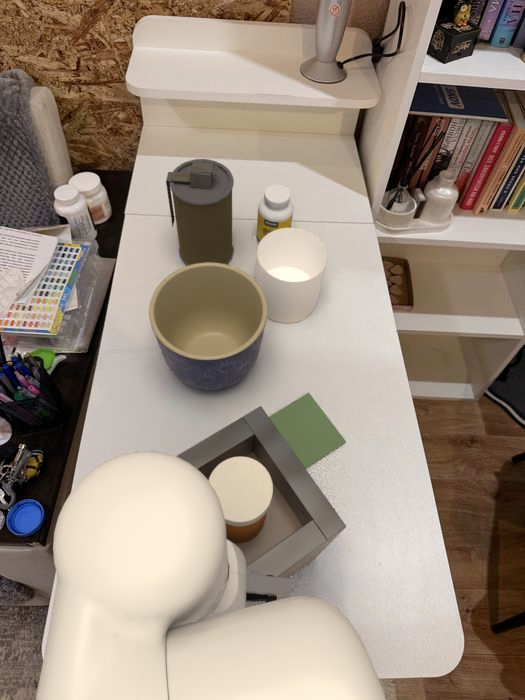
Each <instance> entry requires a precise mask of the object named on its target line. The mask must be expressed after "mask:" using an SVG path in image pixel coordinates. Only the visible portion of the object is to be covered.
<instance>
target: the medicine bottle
mask: <svg viewBox="0 0 525 700" xmlns="http://www.w3.org/2000/svg"><path fill="white" fill-rule="evenodd" d="M209 482H210V484H211V485H212V487H213V488H214V490H215V492H216V494H217V496H218V498H219V501H220V503H221V507H222V510H223V513H224V518H225V525H226V538H227V540H229V541H231V542H232V543H245V542H248V541H250V540H252V539H253V538H255V537H256V536H257V535H258V534H259V533H260V531H261V529H262V528H263V525H264V522H265V518H266V514H267V510H268V508H269V506H270V503H271V499H272V495H273V484H272V479H271V477H270V474H269V473H268V471H267V470H266V468H265V467H264V466H263V465H262V464H261V463H259V462H258V461H256V460H254V459H252V458H248V457H232V458H229V459H227V460H225V461H223V462H221V463H220V464H219V465H218V466H217V467H216V468H215V469H214V470H213V472H212V473H211V475H210V477H209Z"/></svg>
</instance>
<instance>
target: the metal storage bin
mask: <svg viewBox="0 0 525 700" xmlns="http://www.w3.org/2000/svg"><path fill="white" fill-rule="evenodd" d="M175 456H176V457H178V458H180V459H182V460H184V461H186V462H188V463H190V464H191V465H193V466H194V467H195V468H197V469H198V470H199V471H200V472H201V473H202V474H203V475H204V476H205V477H206V478H207V480H208V481H209V477H210V475H211V473H212V472H213V470H214V469H215V468H216V467H217V466H218V465H219V464H220V463H221V462H223V461H225V460H227V459H229V458H232V457H248V458H252V459H254V460H256V461H258V462H259V463H261V464H262V465H263V466H264V467H265V468H266V470H267V471H268V473H269V474H270V477H271V479H272V484H273V495H272V499H271V503H270V506H269V508H268V510H267V514H266V518H265V522H264V525H263V528H262V529H261V531H260V533H259V534H258V535H257V536H256V537H255V538H253V539H252V540H250V541H248V542H245V543H234V544H235V545H236V546H237V547H238V548H239V549H240V550H241V551H242V553H243V555H244V557H245V560H246V570H249V571H254V572H258V573H259V575H263V576H266V575H273V576H274V577H281V578H291V577H292V576H294V575H295V574H296V573H297V572H299V571H300V570H301V569H303V568H304V567H305V566H307V565H308V564H310V563H311V562H312V561H314V560H315V559H316V558H317V557H318V556H319V555H321V553H323V551H325V549H326V548H327V547H328V546H329V545H330V544H331V543H332V542H333V541H334V540H335V539H336V538H337V537H338V536H339V535H340V534H341V533H342V532H343V531H344V530H345V529H346V528H347V525H346V524H345V522H344V521H343V519H342V518H341V517H340V515H339V514H338V512H337V511H336V510H335V508H334V507H333V505H332V504H331V502H330V501H329V500H328V498H327V497H326V495H325V494H324V493H323V491H322V490H321V488H320V487H319V485H318V484H317V483H316V481H315V479H314V478H313V477H312V476H311V474H310V473H309V471H308V470H307V469H305V467H304V466H303V464H302V463H301V462H300V460H299V459H298V457H297V456H296V455H295V453H294V452H293V450H292V449H291V448H290V446H289V445H288V443H287V442H286V441H285V439H284V438H283V436H282V435H281V433H280V432H279V431H278V429H277V428H276V426H275V425H274V424H273V422H272V421H271V419H270V418H269V415H268V414H267V412H266V411H265V409H264V408H263V407H262V405H260V406H258V407H257V408H255V409H253V410H252V411H250V412H248V413H246V414H245V415H243V416H242V417H239V418H238V419H236V420H235V421H233V422H231V423H230V424H228V425H226V426H225V427H223V428H221V429H219V430H218V431H216V432H214V433H213V434H211V435H210V436H208V437H206V438H204V439H202V440H201V441H199V442H198V443H196V444H194V445H192V446H191V447H189V448H187V449H185V450H184V451H183V452H181V453H179V454H177V455H175Z"/></svg>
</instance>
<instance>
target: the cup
mask: <svg viewBox="0 0 525 700" xmlns="http://www.w3.org/2000/svg"><path fill="white" fill-rule="evenodd" d="M255 256H256V257H255V266H254V267H255V269H254V280H255V281H256V282H257V283H258V285H259V286H260V288H261V289H262V291H263V293H264V295H265V298H266V302H267V310H268V312H267V319H268V320H271V321H273V322H277V323H281V324H295V323H298V322H302V321H304V320H305V319H307V318H309V317H310V315H312V314H313V312H314V311H315V309H316V307H317V304H318V301H319V297H320V294H321V288H322V285H323V281H324V278H325V273H326V269H327V265H328V261H329V260H328V259H329V258H328V257H329V256H328V250H327V248H326V246H325V244H324V243H323V242H322V240H321V239H320V238H318V237H317V235H315V234H313V233H312V232H310V231H307V230H306V229H302V228H297V227H291V228H281V229H278V230H274V231H272V232H270V233H268V234H267V235H266V236H265V237H263V238H262V240H261V241H260V242H258V245H257V247H256V254H255Z"/></svg>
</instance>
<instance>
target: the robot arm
mask: <svg viewBox="0 0 525 700" xmlns="http://www.w3.org/2000/svg"><path fill="white" fill-rule="evenodd" d="M176 456H177V455H173V454H170V453H166V452H162V451H155V450H141V451H139V450H138V451H133V452H127V453H124V454H121V455H118V456H116V457H113V458H111V459H108V460H107V461H104V462H103V463H101V464H100V465H97V466H96V467H95V468H94V469H92V470H91V471H89V473H87V474H86V475H85V476H83V478H81V480H80V481H79V482H78V483H77V484H76V486H74V487H73V489H72V490H71V492H70V494H68V496H67V498H66V500H65V502H64V503H63V505H62V508H61V510H60V512H59V515H58V517H57V521H56V524H55V527H54V531H53V541H52V542H53V543H52V552H53V554H52V555H53V564H54V567H55V572H56V577H57V579H56V586H55V592H54V597H53V605H52V609H51V615H50V620H49V621H50V622H49V627H48V632H47V639H46V645H45V650H44V656H43V660H42V665H41V671H40V675H39V681H38V685H37V690H36V696H35V700H387V697H386V695H385V693H384V690H383V687H382V685H381V682H380V679H379V676H378V674H377V671H376V668H375V667H374V664H373V661H372V660H371V657H370V655H369V653H368V651H367V648H366V646H365V644H364V642H363V640H362V638H361V637H360V635H359V633H358V631H357V629H356V628H355V627H354V624H353V623H352V622H351V620H350V619H349V618H348V616H346V614H345V613H344V612H343V611H342V610H341V609H340V608H338V606H336V605H334V604H333V603H332V602H329V601H328V600H326V599H324V598H322V597H321V598H320V597H316V596H312V595H310V596H309V595H295V596H293V594H292V593H293V592H292V591H293V589H292V587H293V586H292V585H293V581H292V580H293V579H292V578H291V577H289V578H281V577H274V576H273V575H266V576H263V575H259V573H258V572H254V571H249V570H246V560H245V557H244V555H243V553H242V551H241V550H240V549H239V548H238V547H237V546H236V545H235V544H234V543H232V542H231V541H229V540H227V538H226V525H225V518H224V513H223V510H222V507H221V503H220V501H219V498H218V496H217V494H216V492H215V490H214V488H213V487H212V485H211V484H210V482H209V481H208V480H207V478H206V477H205V476H204V475H203V474H202V473H201V472H200V471H199V470H198V469H197V468H195V467H194V466H193V465H191V464H190V463H188V462H186V461H184V460H182V459H180V458H178V457H176ZM278 598H279V599H278ZM258 602H263V603H260V604H258Z"/></svg>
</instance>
